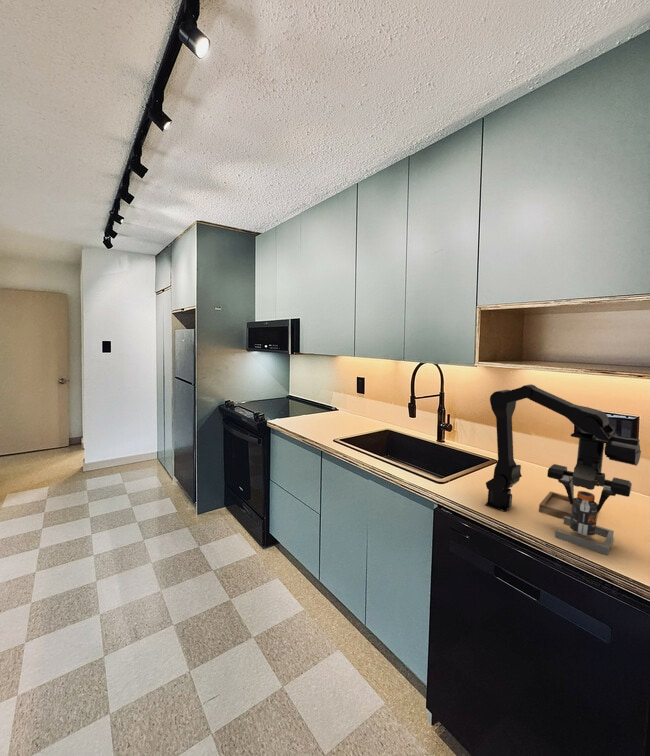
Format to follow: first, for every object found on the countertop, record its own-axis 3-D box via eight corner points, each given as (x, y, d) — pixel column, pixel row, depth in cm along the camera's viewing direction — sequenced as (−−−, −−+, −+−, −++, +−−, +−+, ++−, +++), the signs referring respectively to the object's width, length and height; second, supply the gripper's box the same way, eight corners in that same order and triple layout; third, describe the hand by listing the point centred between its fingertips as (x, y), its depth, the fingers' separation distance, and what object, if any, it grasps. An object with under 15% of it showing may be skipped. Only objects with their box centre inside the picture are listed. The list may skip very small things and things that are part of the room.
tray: (538, 511, 118) (539, 504, 118) (549, 498, 128) (550, 491, 128) (590, 527, 109) (591, 519, 108) (598, 511, 118) (599, 504, 118)
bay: (554, 537, 103) (555, 530, 103) (564, 522, 112) (564, 515, 111) (607, 555, 95) (608, 548, 95) (613, 537, 103) (613, 530, 103)
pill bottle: (590, 538, 99) (594, 500, 98) (566, 529, 104) (569, 492, 103) (598, 532, 103) (602, 494, 101) (574, 523, 108) (578, 487, 106)
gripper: (544, 453, 101) (540, 506, 103) (630, 471, 88) (623, 531, 90) (554, 445, 109) (549, 494, 111) (634, 460, 96) (628, 515, 98)
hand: (584, 507), depth 103 cm, fingers closed on pill bottle, 6 cm apart
